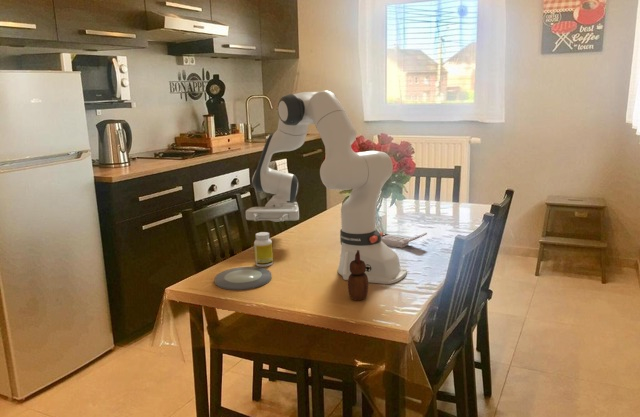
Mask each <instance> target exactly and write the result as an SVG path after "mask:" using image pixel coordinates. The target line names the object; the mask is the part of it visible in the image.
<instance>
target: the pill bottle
mask: <svg viewBox="0 0 640 417" xmlns="http://www.w3.org/2000/svg"><path fill="white" fill-rule="evenodd" d="M273 251H274V250H273V241H272V239H271V238H270V232H267V231H260V232H257V233H255V240H254V242H253V252H254V262H255V265H256V267H260V268H264V267H270V266H272V265H273V264H274V254H273Z"/></svg>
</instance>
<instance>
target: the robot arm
mask: <svg viewBox="0 0 640 417" xmlns="http://www.w3.org/2000/svg"><path fill="white" fill-rule="evenodd" d="M277 114H278V116H279V118H278V125H277V129H276V131H275V132H274V133H270V135H268V137H267V139H266V141H265V143H264V146H263V148H262V149H263V150H262V152H261V155H260V158H259V161H258V164H257V166H256V169H255V171H254V172H253V173H254V174H253V175H252V178H251V185H252V186H253V188H254V189H255V191H257V192H260V193H261V192H262V193H268V194H272V195H273V196H272V197H271V198H270V199H269V200H268V202H266V204H264V205H265V206H252V207H250V208H248V209H246V210H245V219H246V220H247V221H253V222H260V221H271V222H275V223H277V222H284V221H299V219H300V209H299V203H298V202H297V201H295V200H296V199H297V196H298V193H299V188H300V183H299V179H298V177H297V176H296V174H293V173H290V172H286V171H280V170H277V169H274V168H272V167H269V166H270V163H271V160H272V157H273V155H274V154H277V153H281V152H282V153H283V152H291V151H295V150H297V149H300V148H301V147H302V146H303V145H304V144H305V141H306V139H307V134H308V129H309V125H314V126H315V128H316V130H317V132H318V134H319V136H320V139H321V140H322V143H323V145H324V148H325V159H324V160H323V162H322V163H321V165H320V168H319V176H320V180H321V182H322V184H323V185H324V186H325V188H327V189H328V190H333V191H346V190H351V189H352V190H351V192H350V194H349V197H348V198H347V199H346V200H344V201H343V203H342V204H341V207H340V220H341V221H340V223H341V224H340V225H341V226H340V227H341V229H340V231H339V232H340V233H339V236H340V238H339V239H340V245H341V247H340V258H339V265H338V268H337V273H338V274H339V275H340V276H342V279H343V280H344V281H348V278H349V276H350V274H351V272H350V263H351V261H353V260H355V254H356V253H357V250H359V253H360V260H362V261H364V262H365V265H366V271H365V272H364V273H365V274H366V275H367V277H368V283H371V284H373V283H374V284H383V285H385V284H386V285H390V284H395V283H397V282H399V281H401V280H403V279H404V278H405V277H406V276H407V274H408V270H407V269H408V268H406V267H403V266H401V264H400V259H399V255H398V253H397V252H396V251H394V250H393V249H391V248H390V247H389V246H388V245H386V244H384V243H383V242H382V241H381V236H382V235H383V233H384V231H381V232H379V231H378V229H377V226H376V225H377V224H376V222H377V221H376V220H377V203H378V200H379V197H380V194H381V192H382V189H383V187H384V185H385V184H386V183H387V181H388V180H389V179H390V178H391V176H392V174H393V171H394V164H393V160H392V158H391V157H390V154H388V153H386V152H384V151H381V150H380V151H379V150H366V151H359V152H358V151H357V152H355V151H354V150H353V148H352V145H353V143H355V141H356V138H357V129H356V128H355V125H354V123H353V122H352V120H351V118H350V116H349V114H348V113H347V110H346V109H345V107H344V106H343V104H342V103H341V102H340V100H339V98H338V97H337V96H336V95H335V93H333V92H332V91H330V90H321V91H320V90H319V91H303V92H302V91H301V92H298V93H294V94H292V93H290V94H286V95H284V96H282V97H281V98H280V99H279V101H278V105H277Z"/></svg>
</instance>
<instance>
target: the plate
mask: <svg viewBox="0 0 640 417" xmlns="http://www.w3.org/2000/svg"><path fill="white" fill-rule="evenodd" d="M271 280H272V272H271V271H270V270H269V269H268V268H267V269H266V268H264V267H259V266H240V267H238V266H237V267H233V268H230V269H226V270H223V271H221V272H219V273H218V274H216V276H214V284H215V285H216V286H217V287H218V288H220V289H223V290H227V291H228V290H229V291H246V290H252V289H256V288H260V287H263V286H265V285H266V284H267V285H268V283H270V282H271Z"/></svg>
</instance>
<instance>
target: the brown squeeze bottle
mask: <svg viewBox="0 0 640 417" xmlns="http://www.w3.org/2000/svg"><path fill="white" fill-rule="evenodd" d="M365 271H366V265H365V262H364V261H362V260H360V253H359V250H357V253H356V254H355V260H353V261H351V263H350V272H351V274H350V276H349V278H348V280H347V292H348V295H349V296H350V298H351V299H352V300H353V301H362V300H364V299H366V298H367V295H368V292H369V282H368V277H367V275H366V274H365V273H364V272H365Z"/></svg>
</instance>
